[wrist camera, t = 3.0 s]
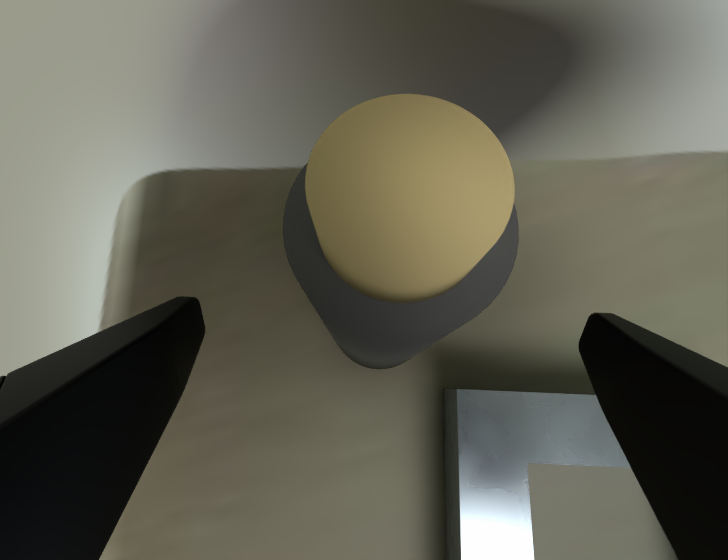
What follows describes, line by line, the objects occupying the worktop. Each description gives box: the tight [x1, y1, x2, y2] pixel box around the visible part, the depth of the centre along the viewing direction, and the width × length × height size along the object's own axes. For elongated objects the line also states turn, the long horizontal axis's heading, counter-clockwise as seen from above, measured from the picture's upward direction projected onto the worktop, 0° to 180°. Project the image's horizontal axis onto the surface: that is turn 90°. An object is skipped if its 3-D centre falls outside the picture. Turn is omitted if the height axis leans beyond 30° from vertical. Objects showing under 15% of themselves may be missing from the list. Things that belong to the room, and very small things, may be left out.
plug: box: [283, 94, 518, 369], centre depth 12 cm, size 4×4×12 cm
